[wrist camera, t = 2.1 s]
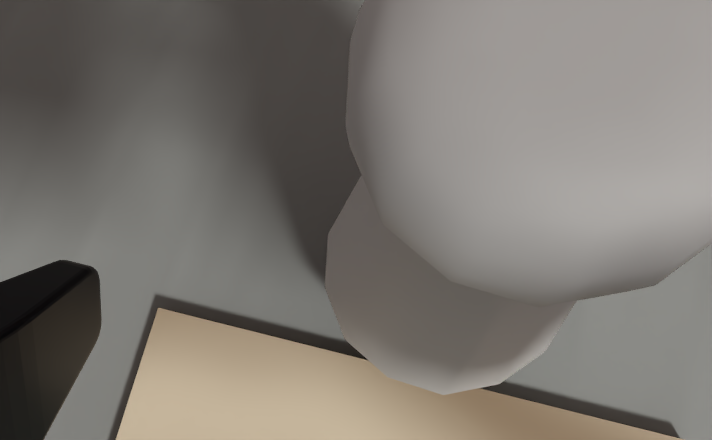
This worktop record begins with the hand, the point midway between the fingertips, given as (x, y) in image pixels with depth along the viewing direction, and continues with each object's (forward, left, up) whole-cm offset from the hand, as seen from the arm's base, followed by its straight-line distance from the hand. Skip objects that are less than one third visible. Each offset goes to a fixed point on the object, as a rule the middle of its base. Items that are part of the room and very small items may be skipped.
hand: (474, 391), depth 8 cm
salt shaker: (+3, +1, -11) cm, 11 cm away
